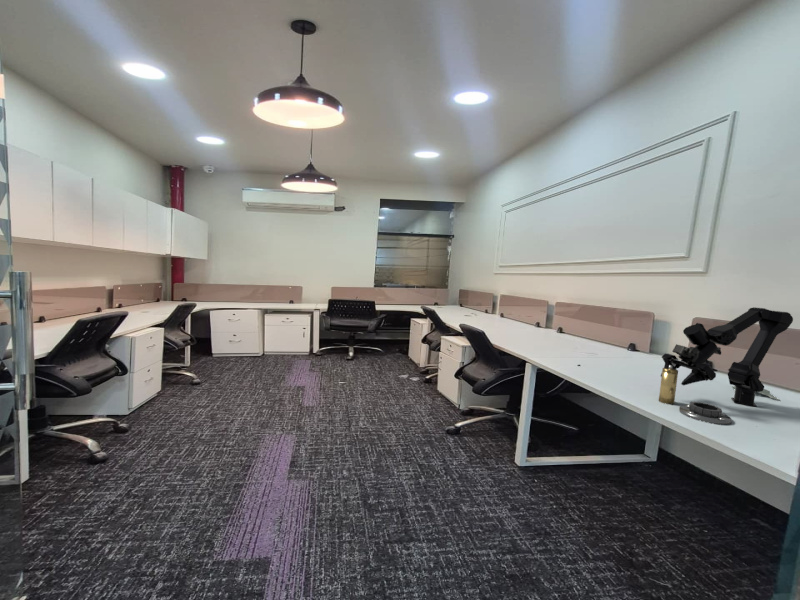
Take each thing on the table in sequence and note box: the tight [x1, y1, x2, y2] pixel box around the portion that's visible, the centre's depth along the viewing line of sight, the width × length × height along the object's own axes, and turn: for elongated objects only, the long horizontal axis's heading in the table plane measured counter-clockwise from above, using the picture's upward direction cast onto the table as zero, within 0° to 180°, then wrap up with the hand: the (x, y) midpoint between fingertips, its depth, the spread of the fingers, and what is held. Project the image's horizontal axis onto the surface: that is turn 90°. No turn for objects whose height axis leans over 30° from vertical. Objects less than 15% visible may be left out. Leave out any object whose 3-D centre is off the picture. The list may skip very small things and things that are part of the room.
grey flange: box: [678, 401, 733, 426], centre depth 124 cm, size 14×14×4 cm
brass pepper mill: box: [658, 365, 679, 405], centre depth 136 cm, size 5×5×14 cm
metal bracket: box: [731, 385, 780, 401], centre depth 155 cm, size 14×6×15 cm
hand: (671, 380), depth 136 cm, fingers open, 9 cm apart
